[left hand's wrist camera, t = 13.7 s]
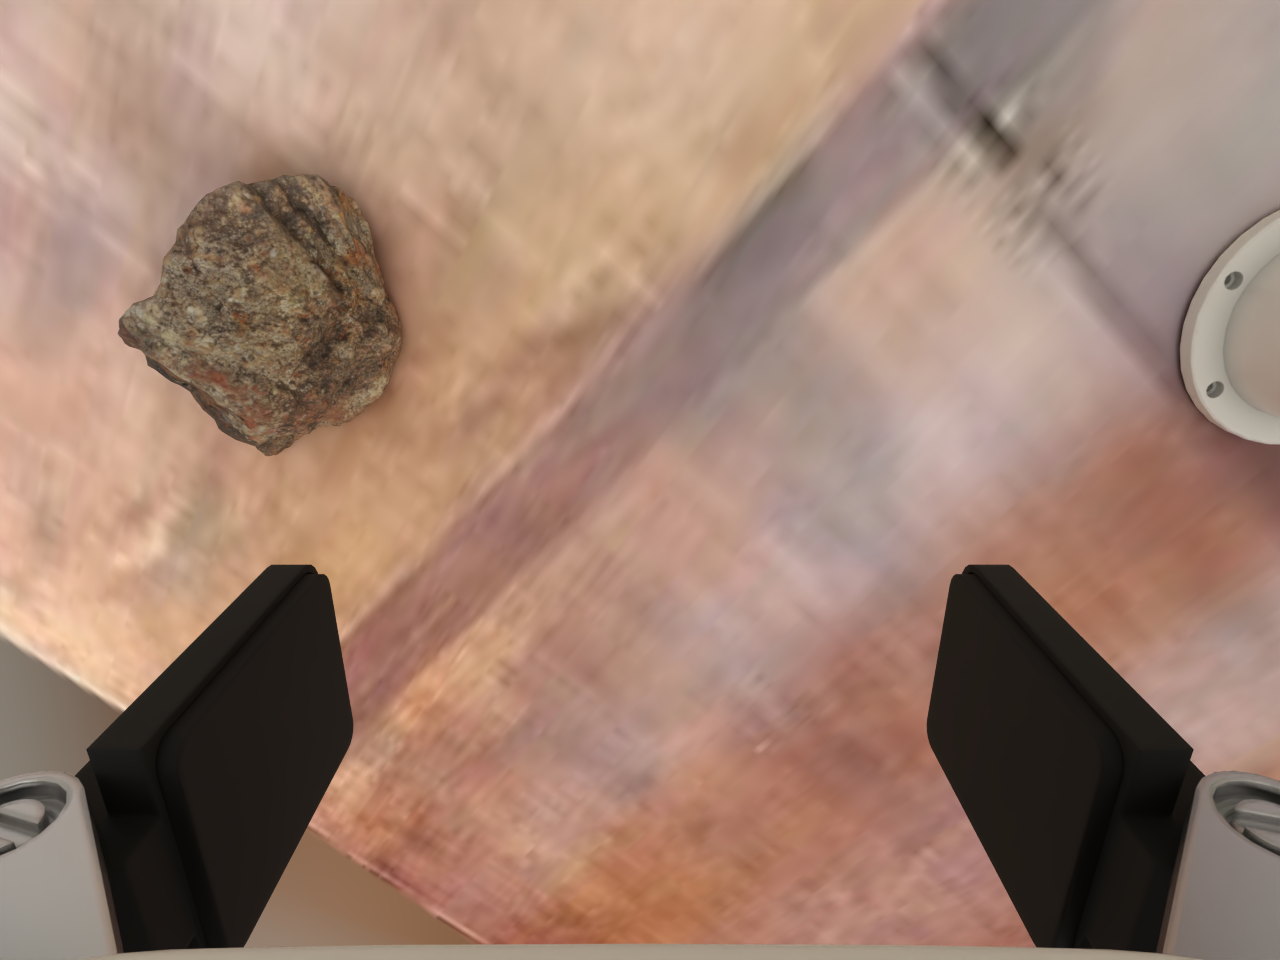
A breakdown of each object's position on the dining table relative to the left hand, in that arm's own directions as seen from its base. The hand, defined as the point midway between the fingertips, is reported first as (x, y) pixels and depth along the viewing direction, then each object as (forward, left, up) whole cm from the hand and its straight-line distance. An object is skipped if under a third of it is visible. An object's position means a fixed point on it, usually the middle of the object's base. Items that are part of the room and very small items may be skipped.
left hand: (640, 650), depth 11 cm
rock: (+16, +7, -29) cm, 34 cm away
